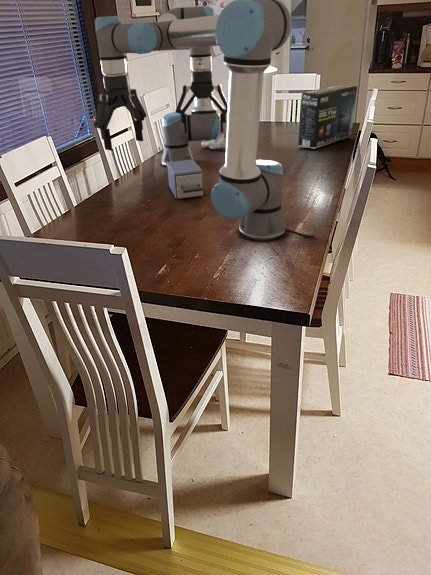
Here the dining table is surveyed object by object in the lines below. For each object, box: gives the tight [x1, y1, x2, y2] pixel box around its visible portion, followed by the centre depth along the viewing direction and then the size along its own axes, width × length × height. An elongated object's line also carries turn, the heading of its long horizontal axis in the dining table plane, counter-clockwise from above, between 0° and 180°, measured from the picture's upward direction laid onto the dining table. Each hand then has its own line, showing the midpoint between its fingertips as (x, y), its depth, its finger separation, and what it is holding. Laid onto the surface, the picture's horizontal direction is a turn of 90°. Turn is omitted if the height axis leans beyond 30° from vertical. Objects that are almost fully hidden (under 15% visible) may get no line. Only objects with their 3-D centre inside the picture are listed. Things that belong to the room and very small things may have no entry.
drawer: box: [176, 173, 204, 199], centre depth 180 cm, size 21×10×8 cm, turn 14°
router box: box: [297, 84, 358, 151], centre depth 238 cm, size 36×11×27 cm, turn 134°
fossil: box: [200, 132, 227, 152], centre depth 244 cm, size 18×11×15 cm
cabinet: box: [166, 158, 205, 200], centre depth 185 cm, size 17×11×10 cm, turn 14°
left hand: (204, 132), depth 173 cm, fingers open, 13 cm apart
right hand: (124, 145), depth 151 cm, fingers open, 13 cm apart
